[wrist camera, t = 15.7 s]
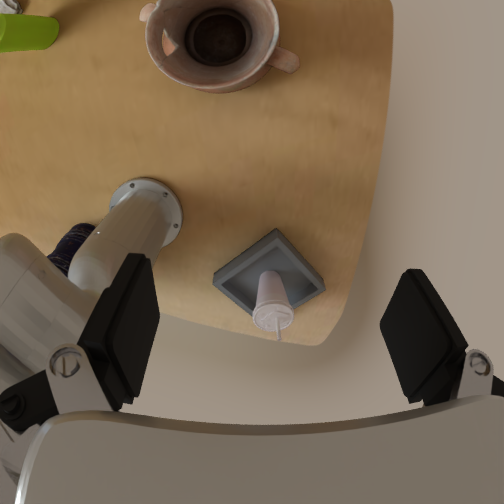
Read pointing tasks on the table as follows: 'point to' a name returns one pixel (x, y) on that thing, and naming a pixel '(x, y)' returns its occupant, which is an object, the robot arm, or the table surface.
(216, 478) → the robot arm
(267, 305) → the smoothie
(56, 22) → the soap dispenser
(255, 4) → the ceramic jug
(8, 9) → the washcloth
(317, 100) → the table surface
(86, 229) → the storage jar
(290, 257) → the tray
